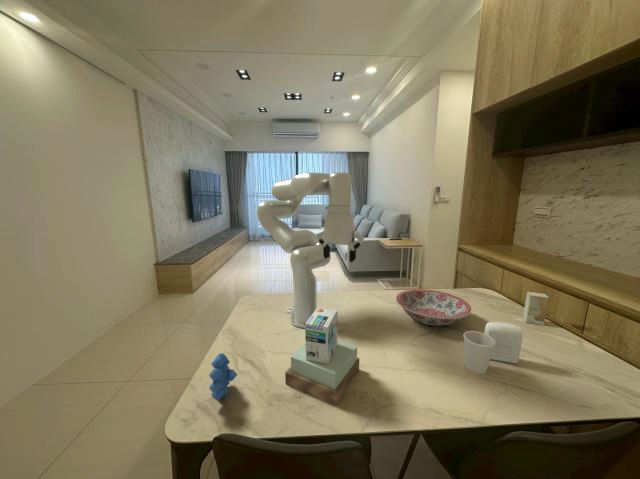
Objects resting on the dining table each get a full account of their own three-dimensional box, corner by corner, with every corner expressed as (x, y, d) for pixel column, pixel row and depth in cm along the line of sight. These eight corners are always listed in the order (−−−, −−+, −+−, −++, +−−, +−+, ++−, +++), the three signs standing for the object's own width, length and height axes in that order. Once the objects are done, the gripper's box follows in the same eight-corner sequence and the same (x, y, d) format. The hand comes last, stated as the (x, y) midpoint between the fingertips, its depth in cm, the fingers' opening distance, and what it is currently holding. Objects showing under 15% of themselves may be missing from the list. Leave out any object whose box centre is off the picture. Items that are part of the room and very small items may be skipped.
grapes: (234, 412, 65) (231, 368, 62) (205, 415, 64) (201, 371, 62) (242, 379, 76) (239, 341, 74) (217, 381, 75) (214, 343, 73)
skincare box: (525, 322, 108) (529, 295, 106) (522, 318, 112) (526, 291, 110) (545, 325, 106) (549, 297, 104) (540, 321, 110) (545, 293, 108)
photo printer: (515, 357, 86) (520, 322, 84) (520, 365, 82) (526, 329, 80) (479, 351, 89) (483, 317, 87) (483, 359, 85) (487, 324, 83)
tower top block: (291, 371, 74) (290, 356, 73) (317, 346, 86) (317, 333, 85) (335, 390, 67) (335, 374, 66) (356, 360, 78) (357, 346, 78)
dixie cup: (474, 356, 86) (477, 328, 84) (498, 373, 78) (502, 342, 77) (454, 362, 83) (457, 333, 82) (477, 379, 76) (481, 348, 74)
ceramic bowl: (468, 312, 118) (470, 295, 116) (470, 345, 92) (473, 324, 91) (401, 300, 131) (402, 285, 130) (388, 326, 106) (388, 307, 104)
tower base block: (285, 386, 74) (285, 372, 73) (314, 355, 88) (313, 343, 87) (336, 408, 66) (336, 393, 66) (359, 371, 80) (359, 358, 79)
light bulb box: (328, 365, 69) (328, 327, 67) (304, 360, 71) (304, 323, 69) (338, 343, 79) (338, 309, 77) (317, 339, 81) (316, 307, 79)
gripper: (312, 210, 89) (312, 258, 92) (360, 211, 81) (358, 265, 84) (322, 209, 96) (322, 254, 99) (368, 210, 87) (366, 260, 90)
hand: (339, 259), depth 91 cm, fingers open, 9 cm apart
